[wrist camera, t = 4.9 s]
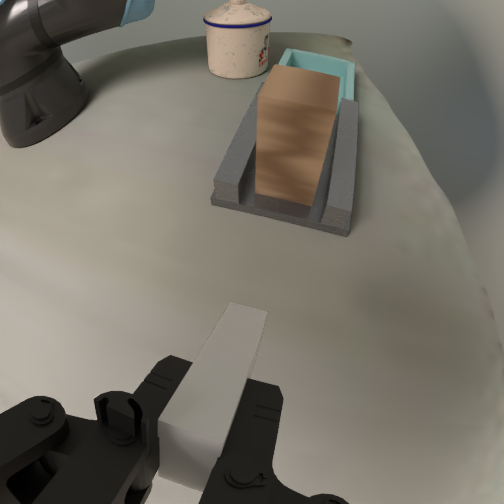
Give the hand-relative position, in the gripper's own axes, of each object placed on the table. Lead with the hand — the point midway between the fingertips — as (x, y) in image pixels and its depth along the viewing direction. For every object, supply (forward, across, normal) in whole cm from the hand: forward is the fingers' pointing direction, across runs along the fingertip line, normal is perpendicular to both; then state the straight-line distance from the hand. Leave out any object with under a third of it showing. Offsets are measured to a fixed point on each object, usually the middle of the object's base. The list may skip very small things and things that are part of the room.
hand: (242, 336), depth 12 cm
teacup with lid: (+35, -13, +21) cm, 43 cm away
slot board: (+21, -1, +8) cm, 23 cm away
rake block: (+18, -1, +6) cm, 19 cm away
